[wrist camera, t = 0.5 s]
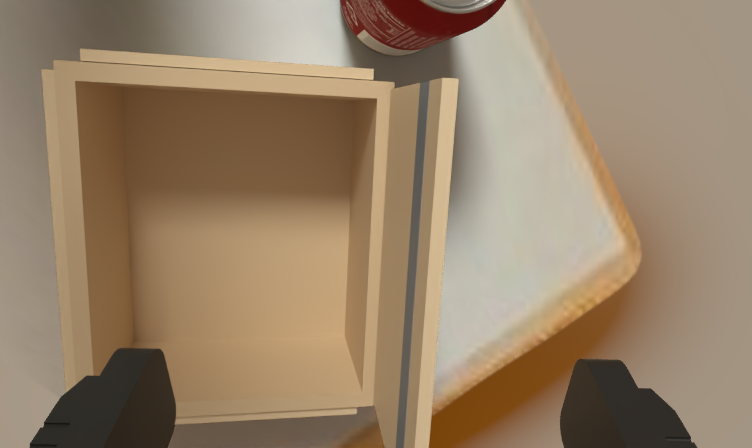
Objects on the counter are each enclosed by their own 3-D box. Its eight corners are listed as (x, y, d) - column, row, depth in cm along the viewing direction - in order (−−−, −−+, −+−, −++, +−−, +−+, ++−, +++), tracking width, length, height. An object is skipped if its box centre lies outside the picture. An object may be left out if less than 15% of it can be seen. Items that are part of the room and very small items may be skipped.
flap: (390, 89, 25) (442, 77, 16) (401, 89, 25) (459, 78, 16) (372, 401, 28) (407, 543, 19) (382, 401, 28) (421, 541, 19)
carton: (98, 61, 30) (37, 45, 22) (366, 78, 33) (395, 70, 25) (114, 358, 33) (66, 433, 26) (354, 350, 36) (375, 414, 29)
